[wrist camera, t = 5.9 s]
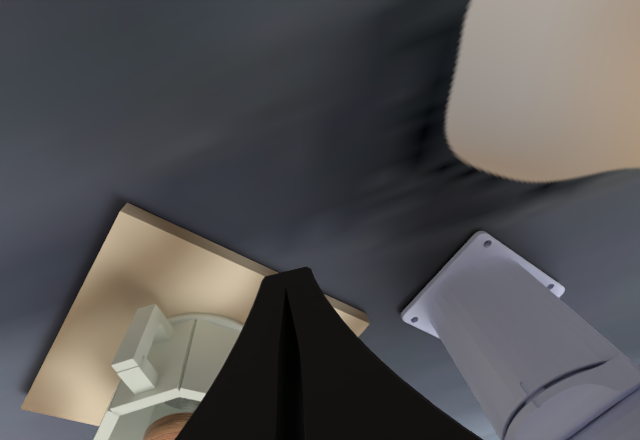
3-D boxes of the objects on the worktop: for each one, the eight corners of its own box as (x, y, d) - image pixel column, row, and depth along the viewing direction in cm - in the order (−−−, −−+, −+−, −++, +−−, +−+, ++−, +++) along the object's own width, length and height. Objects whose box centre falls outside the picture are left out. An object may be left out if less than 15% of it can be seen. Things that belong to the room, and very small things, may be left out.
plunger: (256, 386, 23) (254, 480, 18) (175, 411, 23) (151, 512, 18) (223, 328, 20) (210, 420, 15) (131, 356, 20) (89, 458, 15)
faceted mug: (285, 386, 24) (290, 463, 20) (165, 423, 24) (144, 509, 20) (227, 270, 19) (217, 338, 15) (75, 317, 19) (19, 400, 15)
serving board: (365, 313, 23) (369, 323, 23) (247, 446, 28) (247, 458, 27) (127, 202, 17) (120, 210, 17) (29, 394, 22) (20, 408, 21)
